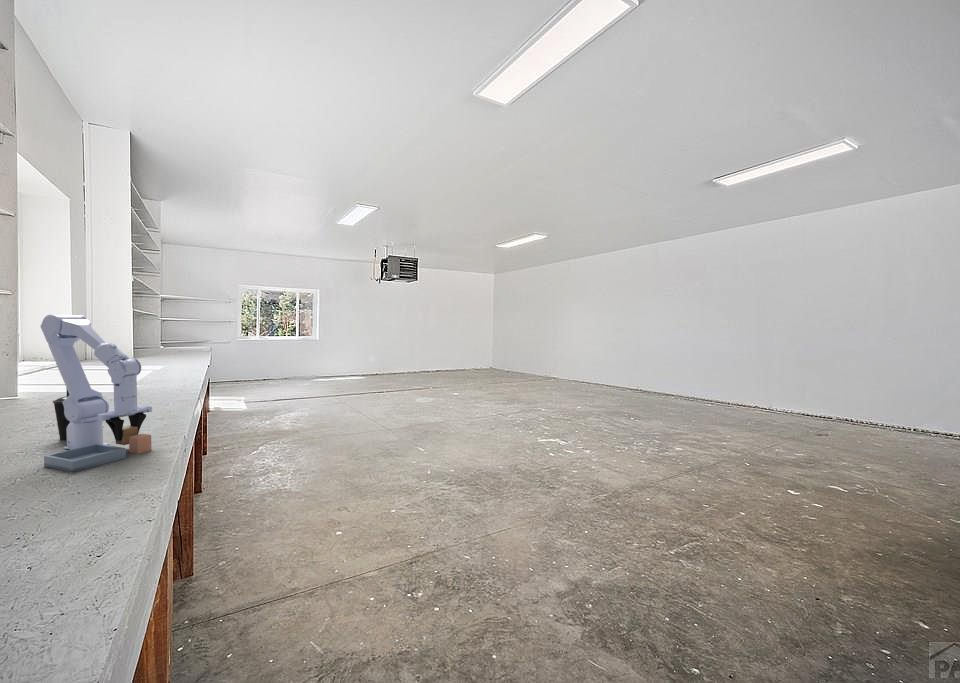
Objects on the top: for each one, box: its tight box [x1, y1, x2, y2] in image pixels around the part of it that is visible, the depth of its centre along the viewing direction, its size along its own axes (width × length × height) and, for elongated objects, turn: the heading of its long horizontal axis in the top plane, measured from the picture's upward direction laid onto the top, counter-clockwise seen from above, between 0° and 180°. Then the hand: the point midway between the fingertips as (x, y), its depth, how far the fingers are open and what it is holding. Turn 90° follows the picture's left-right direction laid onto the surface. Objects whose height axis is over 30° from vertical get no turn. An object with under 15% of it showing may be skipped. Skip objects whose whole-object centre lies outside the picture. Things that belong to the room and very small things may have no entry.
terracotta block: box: [128, 433, 152, 454], centre depth 135 cm, size 4×4×5 cm
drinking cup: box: [52, 387, 70, 441], centre depth 147 cm, size 8×8×20 cm
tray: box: [43, 444, 127, 473], centre depth 124 cm, size 13×13×3 cm
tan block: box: [115, 425, 139, 446], centre depth 136 cm, size 4×4×5 cm
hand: (126, 438), depth 136 cm, fingers closed on tan block, 4 cm apart
